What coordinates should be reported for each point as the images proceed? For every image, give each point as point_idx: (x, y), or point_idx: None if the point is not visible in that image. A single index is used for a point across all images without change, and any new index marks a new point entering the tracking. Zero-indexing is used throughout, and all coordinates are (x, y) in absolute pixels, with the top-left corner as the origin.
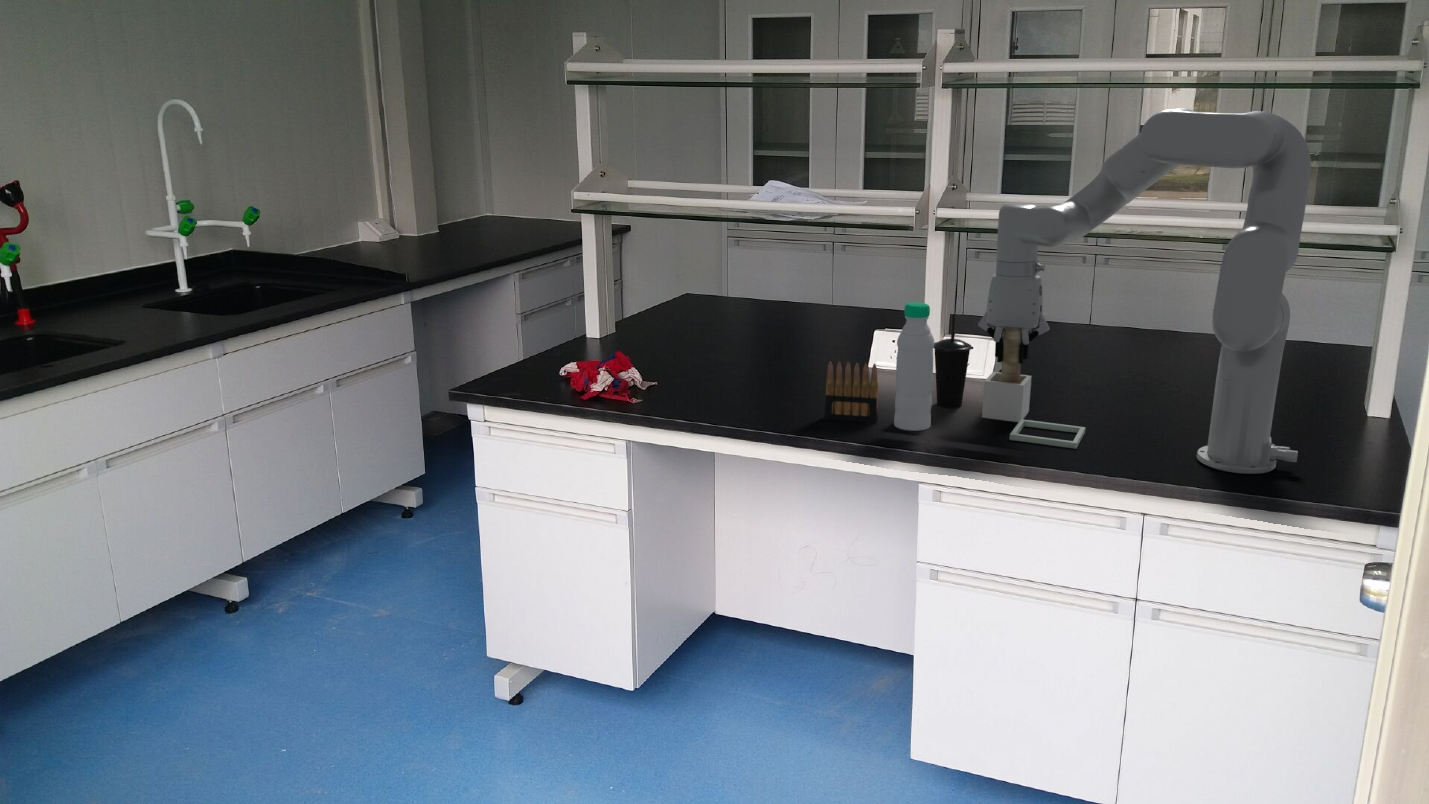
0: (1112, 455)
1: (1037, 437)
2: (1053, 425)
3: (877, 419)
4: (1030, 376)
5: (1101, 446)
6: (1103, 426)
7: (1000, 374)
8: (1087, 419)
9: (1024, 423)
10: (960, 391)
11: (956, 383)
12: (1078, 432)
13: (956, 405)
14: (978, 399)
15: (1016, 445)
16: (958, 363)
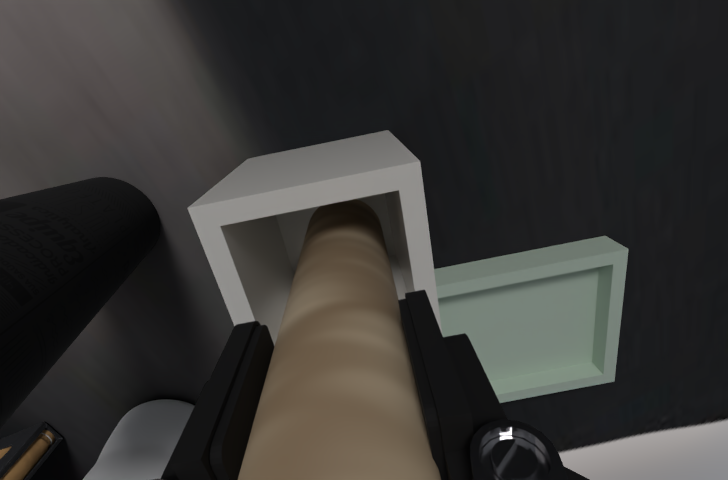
0: (682, 323)
1: (511, 397)
2: (527, 279)
3: (49, 430)
4: (419, 179)
5: (654, 278)
6: (659, 83)
7: (246, 218)
8: (597, 27)
9: None
10: (125, 268)
11: (96, 312)
12: (611, 304)
13: (147, 250)
14: (104, 15)
15: None
16: (26, 394)
